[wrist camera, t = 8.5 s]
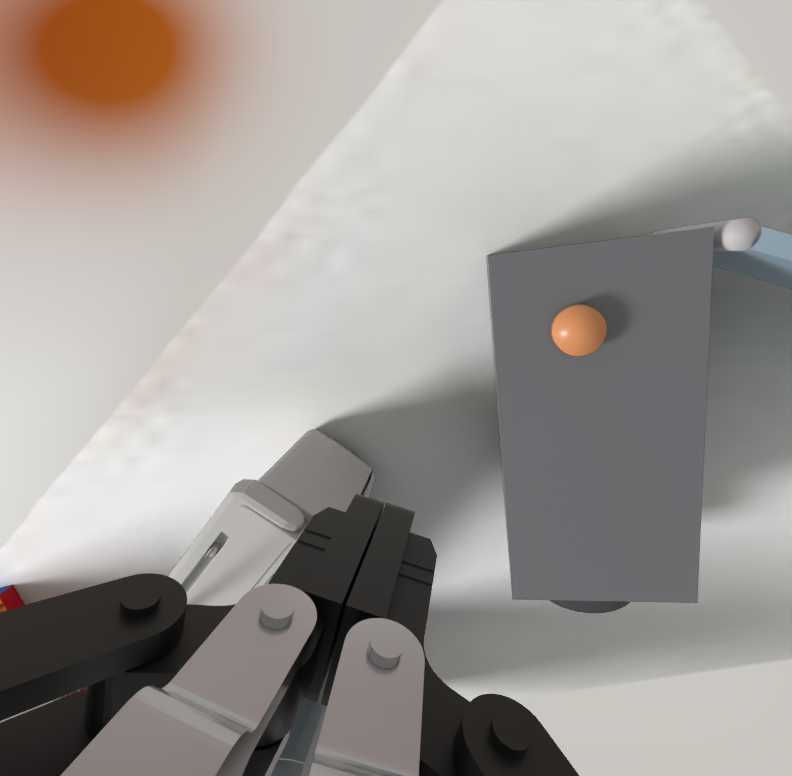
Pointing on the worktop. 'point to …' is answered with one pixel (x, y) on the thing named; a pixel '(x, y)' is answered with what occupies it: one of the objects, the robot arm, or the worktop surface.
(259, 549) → the stereo radio cassette player
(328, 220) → the worktop surface
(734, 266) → the side door
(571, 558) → the camera housing
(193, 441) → the worktop surface
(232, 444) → the worktop surface
